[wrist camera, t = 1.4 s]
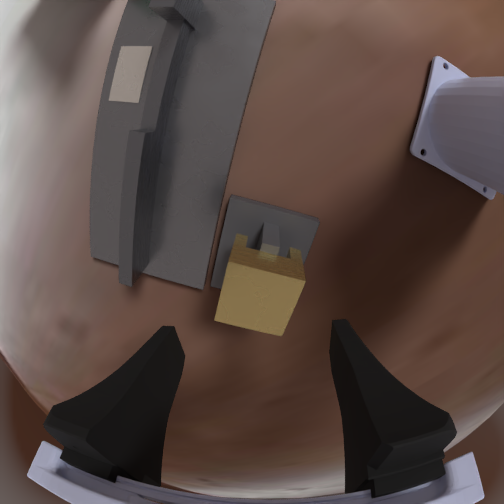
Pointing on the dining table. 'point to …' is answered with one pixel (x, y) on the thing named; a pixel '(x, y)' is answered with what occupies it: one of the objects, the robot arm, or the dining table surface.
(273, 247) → the grey finned base plate
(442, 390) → the dining table surface
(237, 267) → the clip
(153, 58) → the rail
